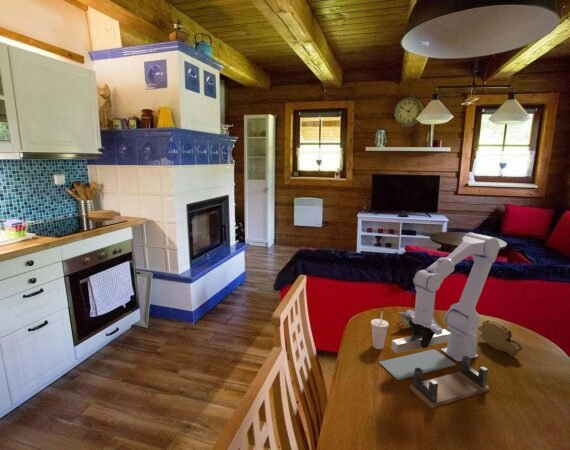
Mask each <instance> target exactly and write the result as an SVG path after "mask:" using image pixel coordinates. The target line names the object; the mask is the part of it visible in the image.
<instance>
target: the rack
mask: <svg viewBox="0 0 570 450" xmlns="http://www.w3.org/2000/svg"><path fill="white" fill-rule="evenodd" d="M471 359H472V358H470V357H468V356H463V359H462V361H461V366H460V371H456V372H453V373H449V374H445V375H441V376H439V377H434V378H431V379H430V378H429V379H427V380H423V374H422V373H423V370H421V369H420V368H415V371H414V376H413V381H412V384H409V389H410V390H411V391H412V392H413V393H414V394H416V396H417V397H418V398H419V399H421V400H422V402H424V403H425V404H426V405H427V406H429V408H430V409H432V408H433V409H434V408H436V407H440V406H443V405H447V404H449V403H453V402H456V401H459V400H462V399H466V398H469V397H473V396H476V395H479V394H482V393H486V392H489V390H490V386H489V385H487V380H488V371H489V369H488V368H487V367H485V366H480V367H479V369H478V371H477V370H475V369H474V368H473V367H471Z"/></svg>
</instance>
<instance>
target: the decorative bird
mask: <svg viewBox="0 0 570 450" xmlns="http://www.w3.org/2000/svg"><path fill="white" fill-rule="evenodd" d="M397 313H398V314H399V316H400V317H401V321H400V322H399V321H396V326H398V328H399V330H402V327H404V326H406V327H408V328H411V327H410V325H409V321H412V318H411V317H410V316H409V317H408V316H406V311H405V312H404V311H403V312H402V311H398V312H397ZM433 320H434V321H435V322H436V323H437V320H436V318H435V317H434V316H433ZM402 323H403V325H401V326H400V324H402ZM424 328H425V326H424Z"/></svg>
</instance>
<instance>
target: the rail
mask: <svg viewBox="0 0 570 450" xmlns="http://www.w3.org/2000/svg"><path fill="white" fill-rule="evenodd" d="M450 340H451V333H450V332H449V330H447V329H445V328H444V329H443V328H442V334H441V335H436V334H435V335H434V336H433V337H432V339H431V341H430V343H429V346H428V347H430V346H435V345H439V344H444V343H448V342H449V341H450ZM421 341H422V338H421V334H419V335H414V336H413V335H410V336H404V337H400V338H396V339H392V340H391V346H390V348H391V350H393V352H395V353H396V354H399V353H405V352H408V351H414V350H417V349H423V348H422V345H421Z"/></svg>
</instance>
